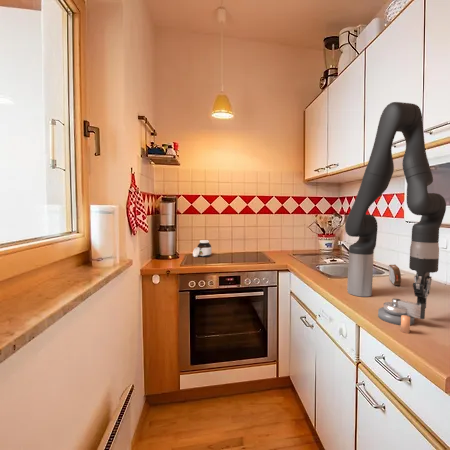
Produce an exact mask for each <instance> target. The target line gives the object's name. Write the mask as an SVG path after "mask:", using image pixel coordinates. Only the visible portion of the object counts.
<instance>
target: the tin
mask: <svg viewBox="0 0 450 450" xmlns="http://www.w3.org/2000/svg"><path fill="white" fill-rule="evenodd" d="M401 276H402V275H401V270H400V268H399V267H398V266H397V265H396V264H389V265H388V279H389V281H390V283H391V284H392V285H393V286H399V287H401V284H402V283H401V282H402V277H401Z"/></svg>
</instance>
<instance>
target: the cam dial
mask: <svg viewBox="0 0 450 450" xmlns="http://www.w3.org/2000/svg"><path fill="white" fill-rule="evenodd" d="M383 307H384V311H385V312H387V313H389V314H393V315H398V316H401V315H407V316H411V317H414V319H415V318H416V319H420V320H425V318H426V316H425V315H426V309H425V303H417V302H412V301H408V300H405V299H399V298H396V297H393V298H392V299H391V301H385V302H383Z"/></svg>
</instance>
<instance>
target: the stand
mask: <svg viewBox="0 0 450 450" xmlns="http://www.w3.org/2000/svg"><path fill="white" fill-rule="evenodd" d="M377 311H378V312H377V318H379V319H380V320H381V321H384V322H387V323H389V324H393V325H396V326H397V325H399V326H400V332H402V333H403V334H410V332H411V331H410V330H411V329H410V328H411V326H412V325H414V324H415V317H411V316H407V315H401V316H398V315H393V314H389V313H387V312H385V311H384V306H383V307H379V308H378V310H377Z"/></svg>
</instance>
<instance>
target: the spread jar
mask: <svg viewBox="0 0 450 450" xmlns="http://www.w3.org/2000/svg"><path fill="white" fill-rule="evenodd" d="M212 250H213V249H212V244H211V243H210V240H208V239H200V240H199V243H198V244H197V246H196V247H194V249H193V251H192V257H194V258H198V257H200V258H208V257H209V258H210V256H211V255H212V252H213V251H212Z"/></svg>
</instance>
